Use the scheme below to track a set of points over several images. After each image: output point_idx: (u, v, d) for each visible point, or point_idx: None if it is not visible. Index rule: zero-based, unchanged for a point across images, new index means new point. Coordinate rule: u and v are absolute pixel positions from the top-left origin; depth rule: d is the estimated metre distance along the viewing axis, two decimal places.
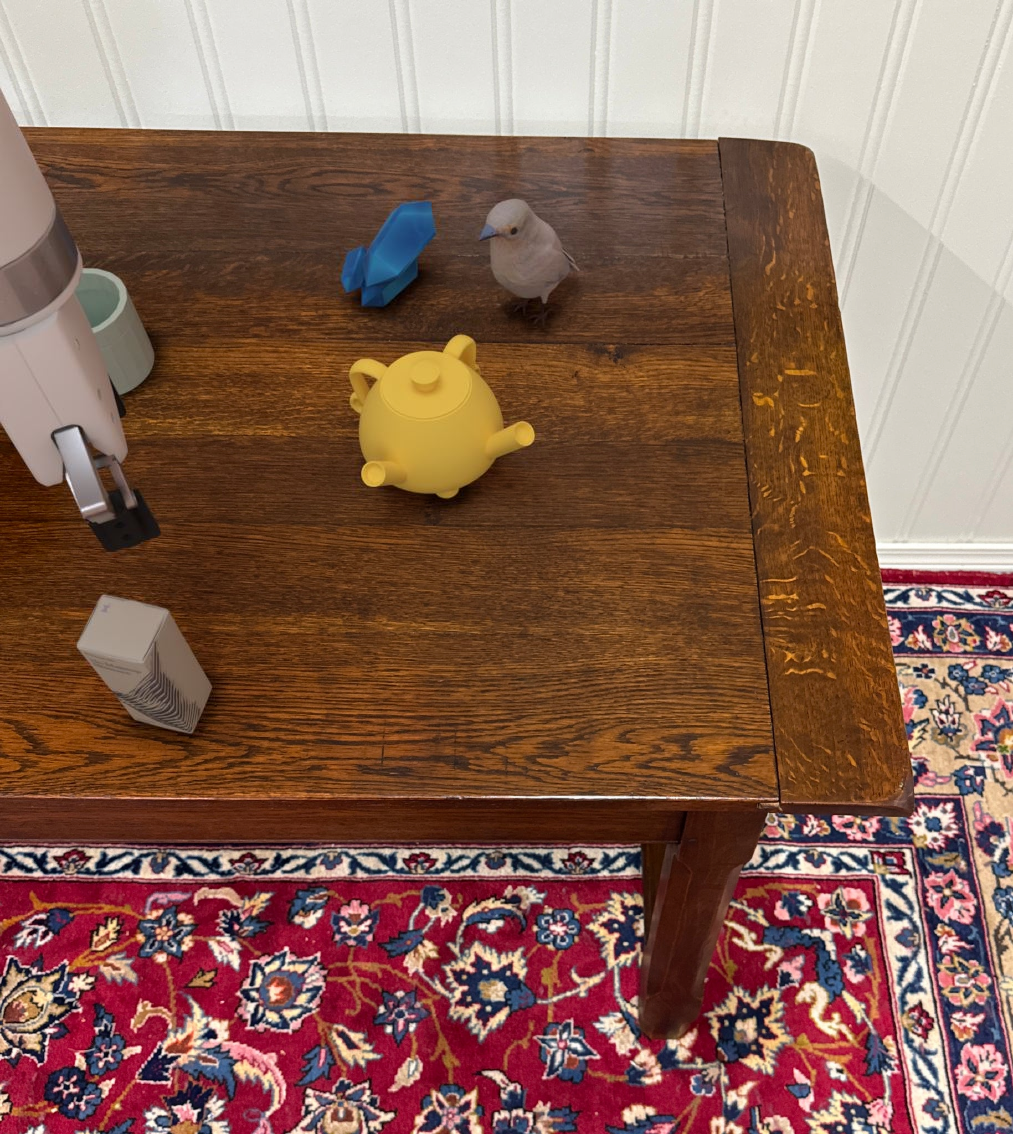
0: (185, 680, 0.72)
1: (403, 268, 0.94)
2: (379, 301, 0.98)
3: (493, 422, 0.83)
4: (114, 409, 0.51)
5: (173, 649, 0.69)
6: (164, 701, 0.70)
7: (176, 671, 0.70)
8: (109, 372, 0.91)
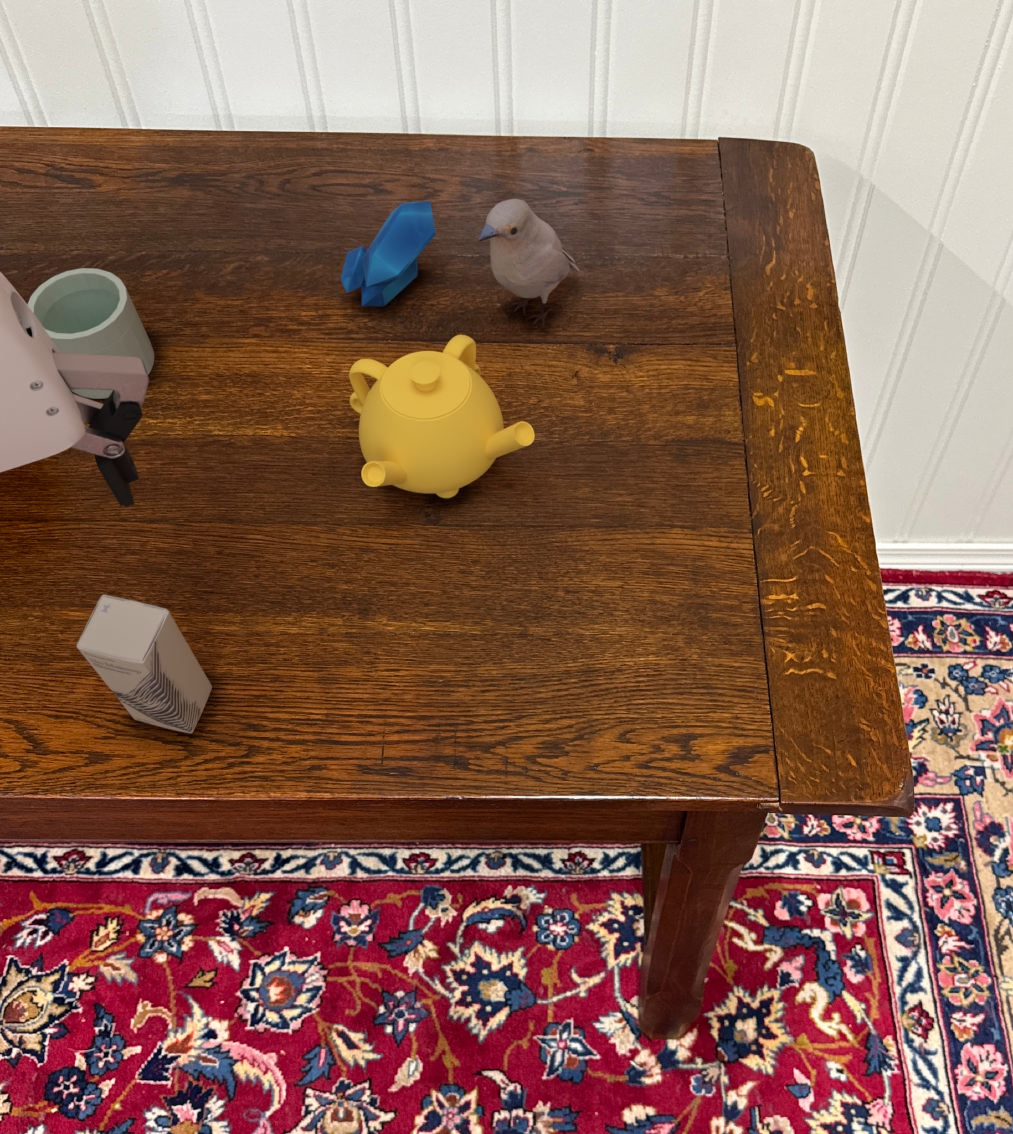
0: (185, 680, 0.72)
1: (403, 268, 0.94)
2: (379, 301, 0.98)
3: (493, 422, 0.83)
4: None
5: (173, 649, 0.69)
6: (164, 701, 0.70)
7: (176, 671, 0.70)
8: None
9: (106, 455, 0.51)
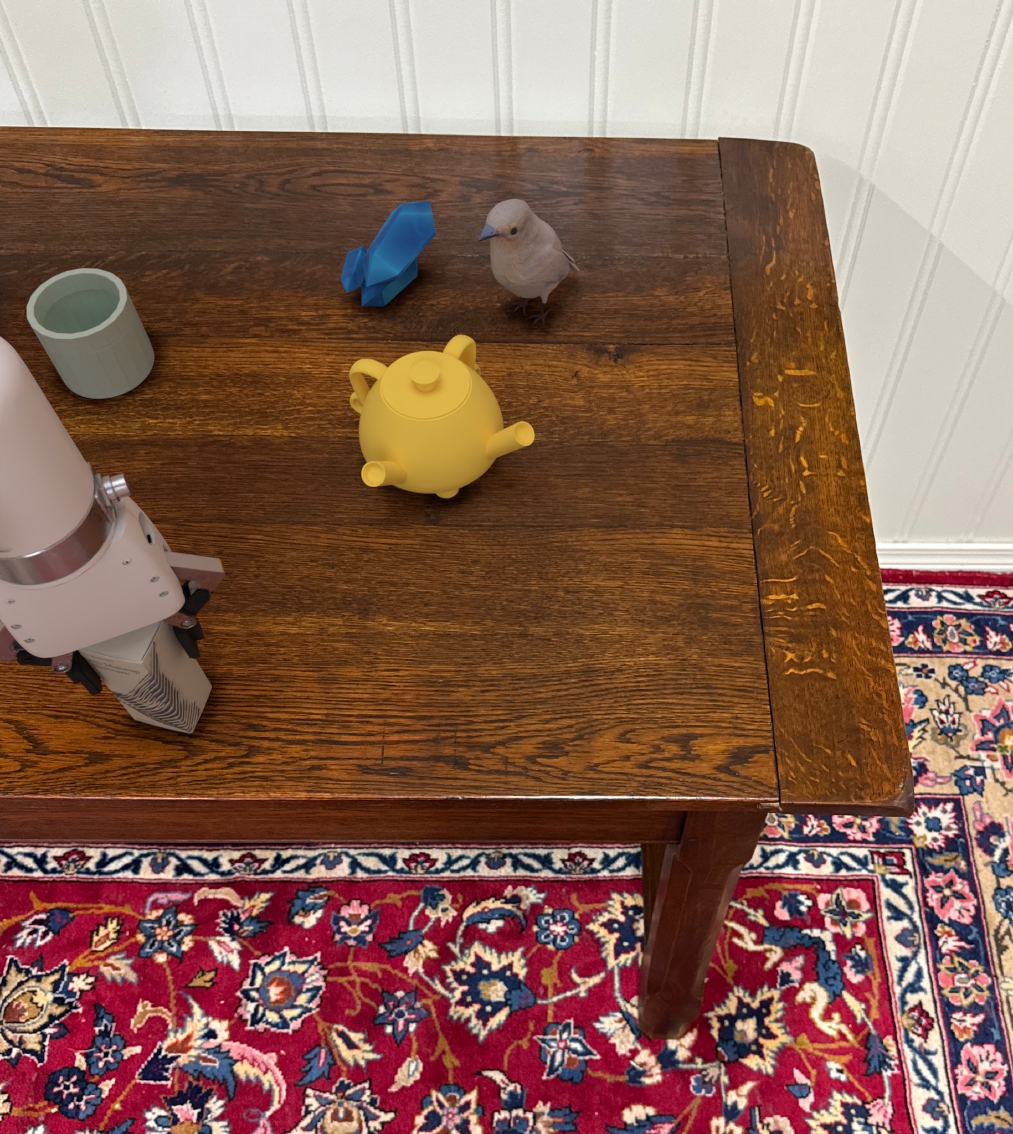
0: (184, 680, 0.72)
1: (403, 268, 0.94)
2: (379, 301, 0.98)
3: (493, 422, 0.83)
4: (51, 639, 0.60)
5: (172, 649, 0.69)
6: (164, 701, 0.70)
7: (176, 671, 0.70)
8: (109, 372, 0.91)
9: (182, 627, 0.67)
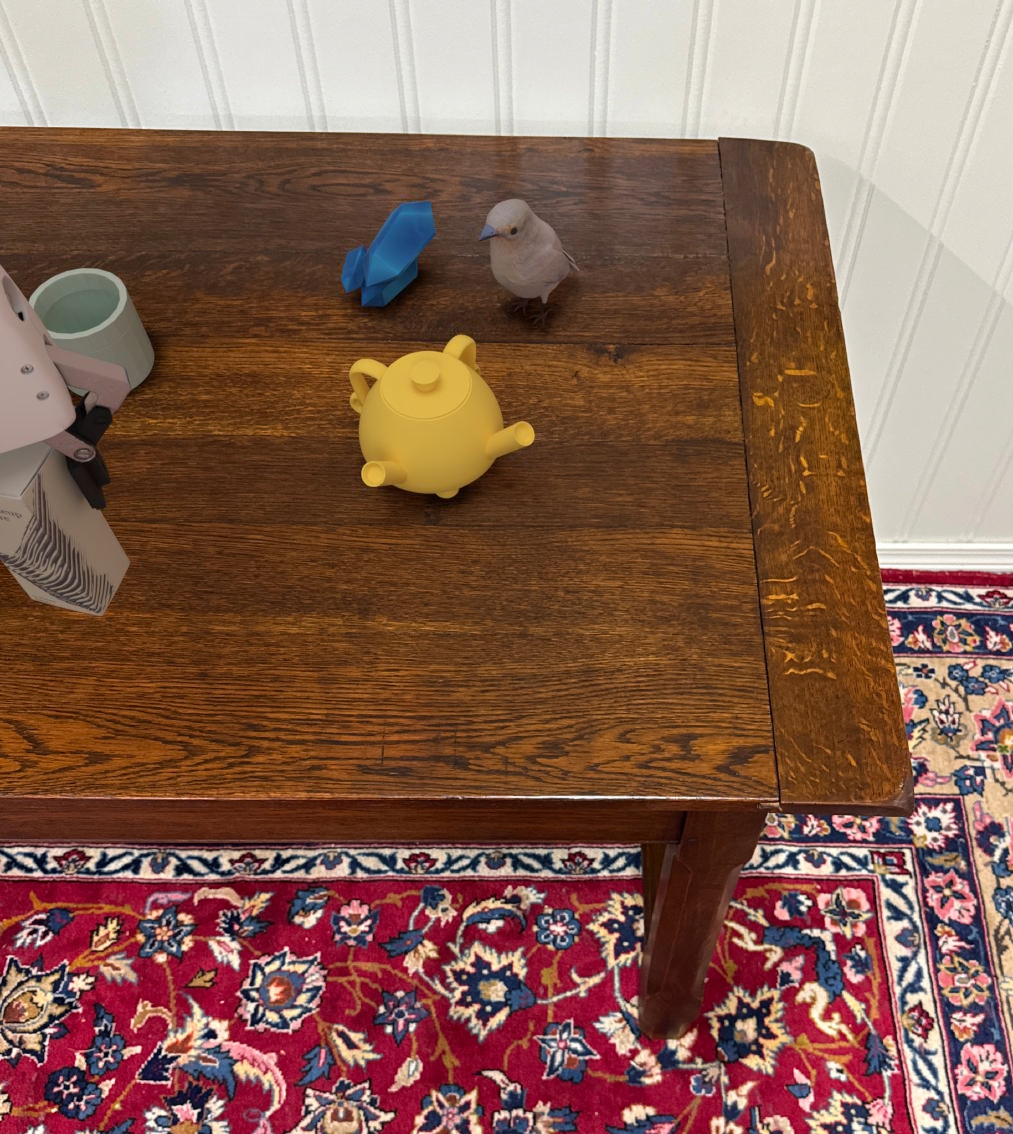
0: (88, 542, 0.57)
1: (403, 268, 0.94)
2: (379, 301, 0.98)
3: (493, 422, 0.83)
4: None
5: (68, 494, 0.54)
6: (60, 564, 0.56)
7: (74, 525, 0.56)
8: None
9: (77, 459, 0.52)
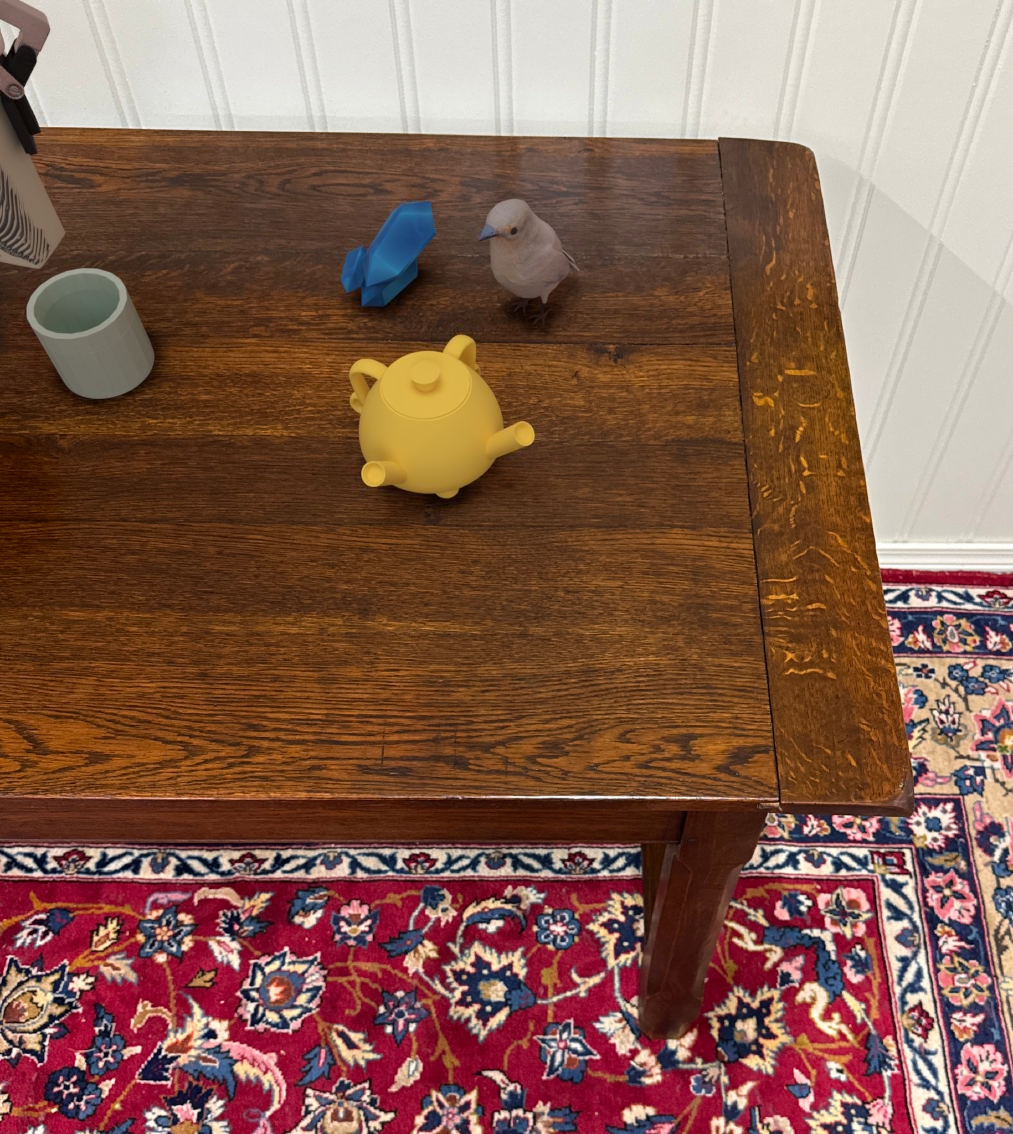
0: (24, 190, 0.70)
1: (403, 268, 0.94)
2: (379, 301, 0.98)
3: (493, 422, 0.83)
4: None
5: (4, 135, 0.67)
6: (0, 201, 0.68)
7: (11, 167, 0.68)
8: (109, 372, 0.91)
9: (9, 95, 0.65)
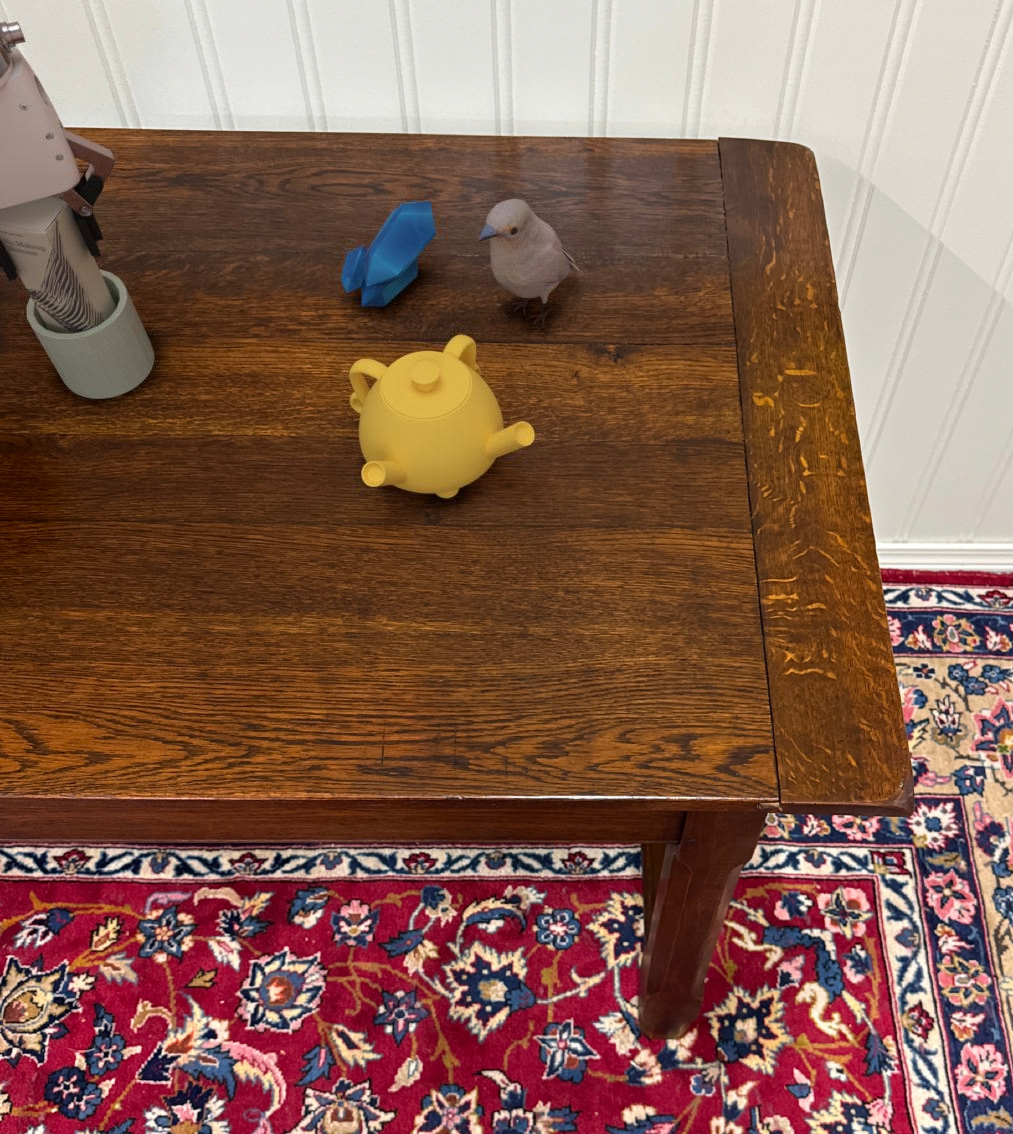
0: (89, 283, 0.86)
1: (403, 268, 0.94)
2: (379, 301, 0.98)
3: (493, 422, 0.83)
4: None
5: (75, 242, 0.82)
6: (70, 294, 0.84)
7: (80, 267, 0.84)
8: (109, 372, 0.91)
9: (81, 213, 0.80)
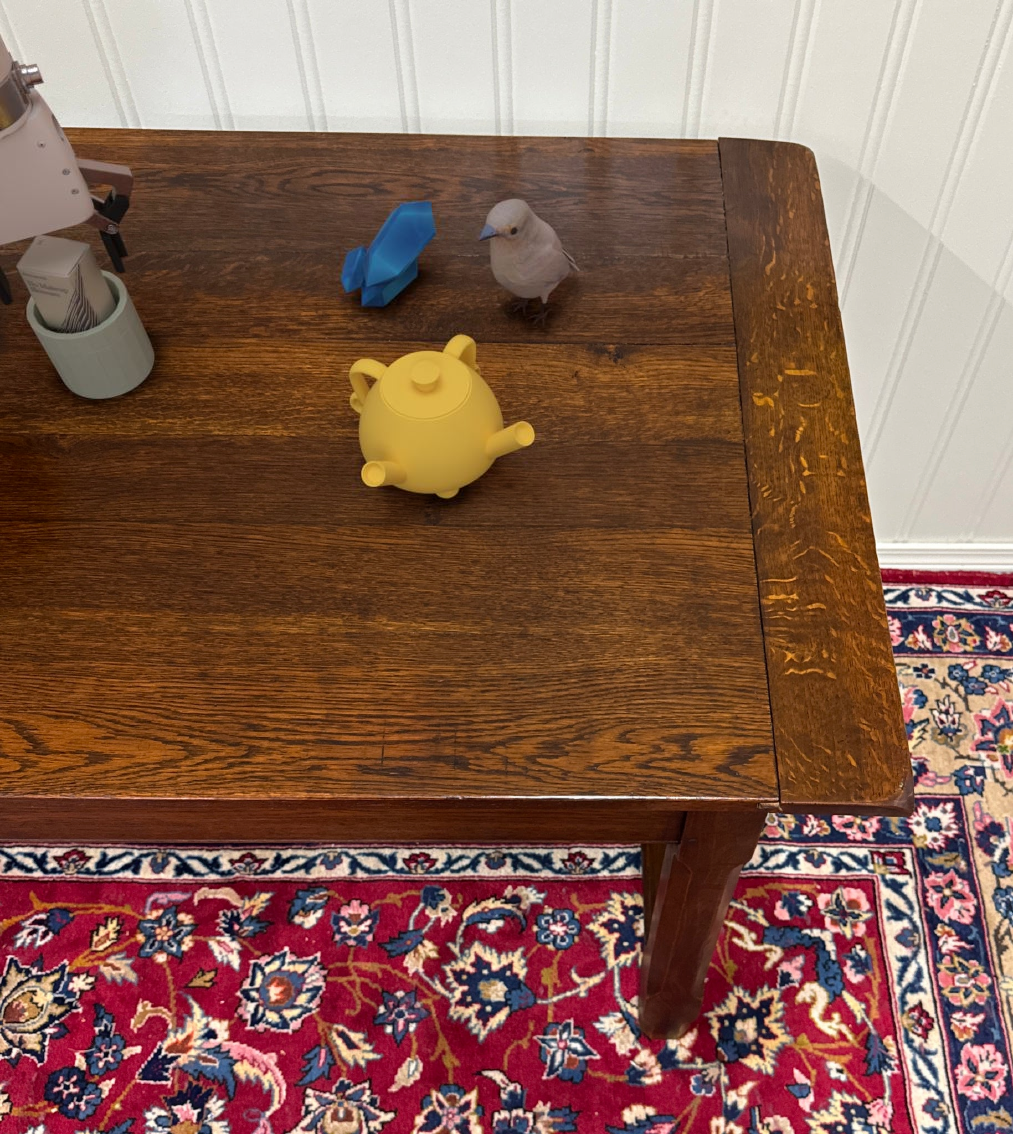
0: None
1: (403, 268, 0.94)
2: (379, 301, 0.98)
3: (493, 422, 0.83)
4: None
5: (95, 283, 0.86)
6: None
7: (99, 306, 0.88)
8: (109, 372, 0.91)
9: (107, 231, 0.83)
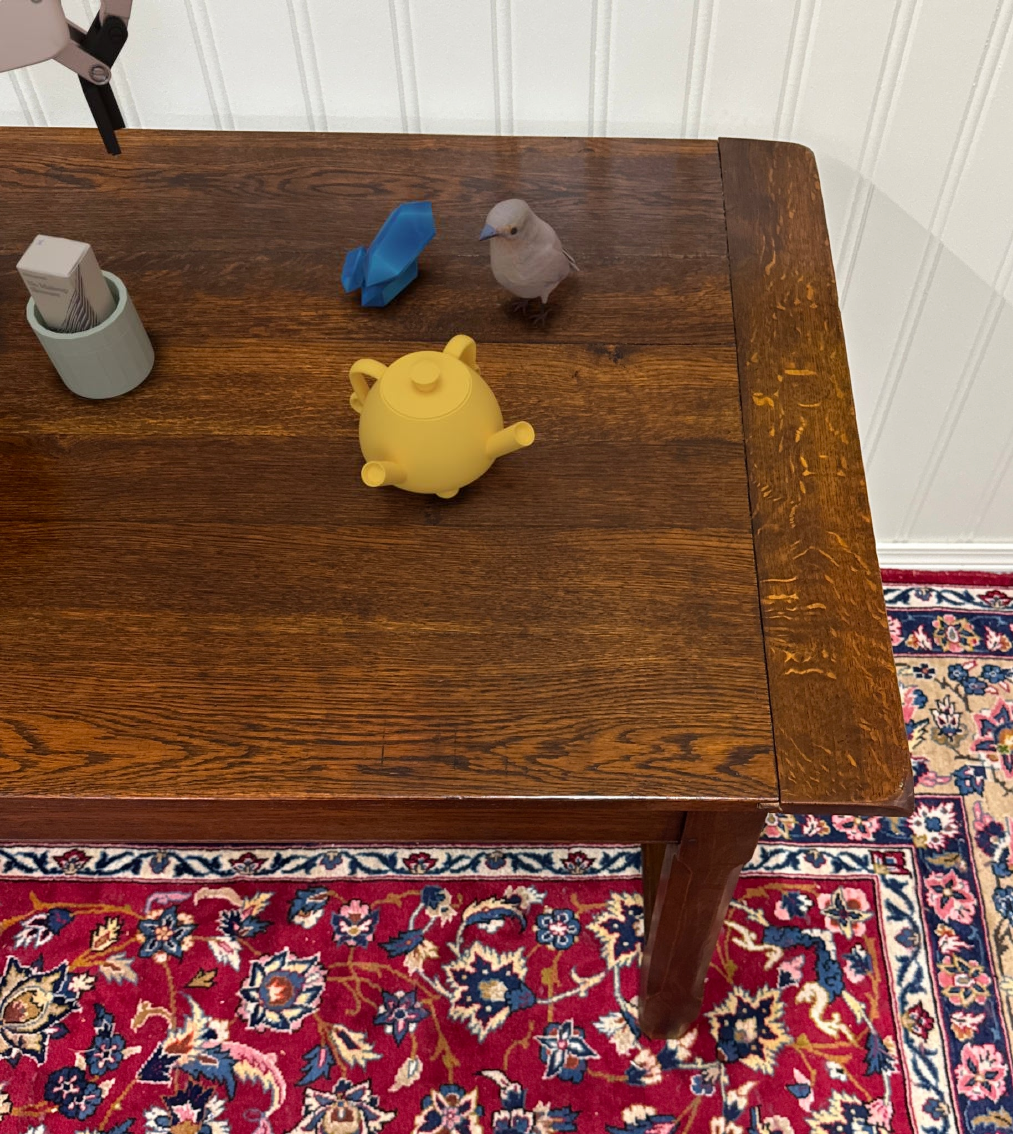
0: None
1: (403, 268, 0.94)
2: (379, 301, 0.98)
3: (493, 422, 0.83)
4: None
5: (95, 283, 0.86)
6: None
7: (99, 306, 0.88)
8: (109, 372, 0.91)
9: (92, 80, 0.51)
